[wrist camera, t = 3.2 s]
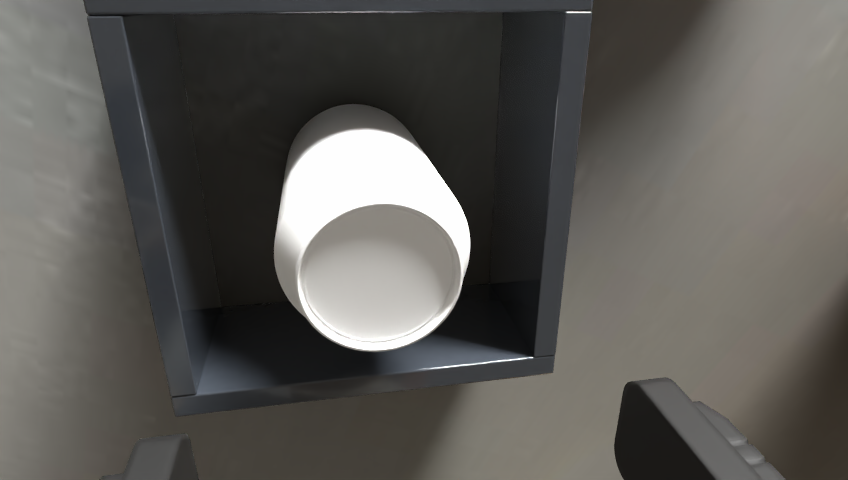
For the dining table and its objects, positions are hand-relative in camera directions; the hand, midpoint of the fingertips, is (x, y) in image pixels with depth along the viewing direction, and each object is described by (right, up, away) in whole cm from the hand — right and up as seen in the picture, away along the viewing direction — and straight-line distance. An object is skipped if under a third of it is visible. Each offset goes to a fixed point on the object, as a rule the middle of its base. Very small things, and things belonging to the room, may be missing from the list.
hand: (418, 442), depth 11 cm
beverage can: (-3, +7, +17) cm, 19 cm away
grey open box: (-3, +7, +17) cm, 19 cm away
